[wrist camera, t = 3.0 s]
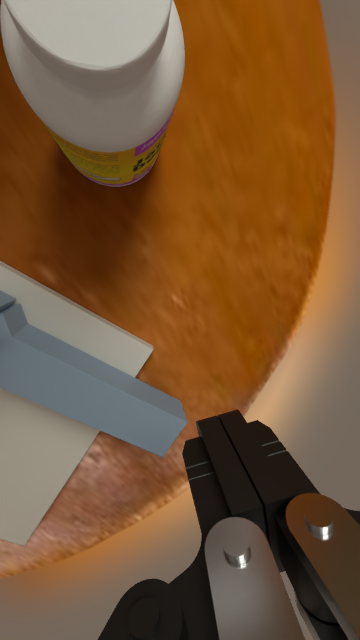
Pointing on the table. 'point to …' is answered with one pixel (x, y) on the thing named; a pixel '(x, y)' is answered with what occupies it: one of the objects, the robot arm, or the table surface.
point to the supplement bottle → (98, 78)
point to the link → (83, 385)
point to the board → (43, 423)
